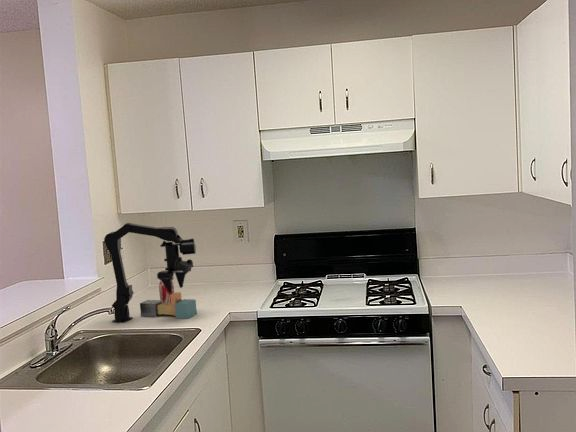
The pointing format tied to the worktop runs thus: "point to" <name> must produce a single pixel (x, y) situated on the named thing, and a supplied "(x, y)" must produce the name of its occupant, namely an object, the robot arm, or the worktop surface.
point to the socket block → (185, 308)
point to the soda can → (165, 292)
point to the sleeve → (149, 308)
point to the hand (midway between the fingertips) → (175, 290)
